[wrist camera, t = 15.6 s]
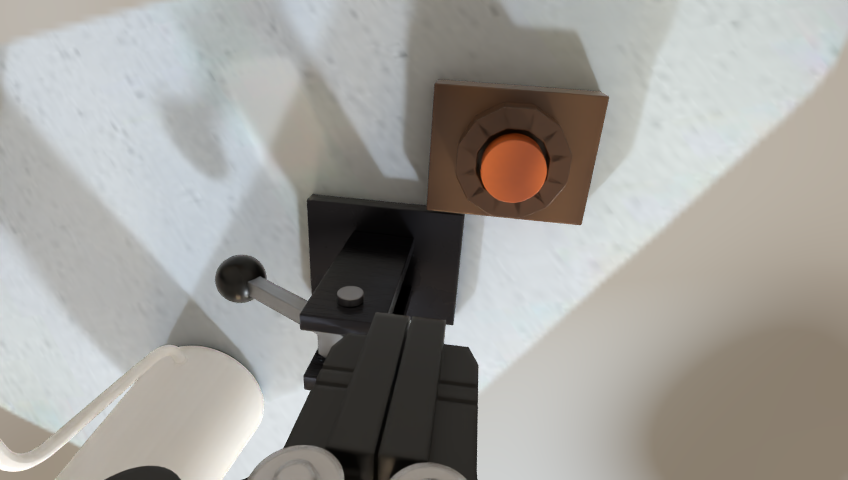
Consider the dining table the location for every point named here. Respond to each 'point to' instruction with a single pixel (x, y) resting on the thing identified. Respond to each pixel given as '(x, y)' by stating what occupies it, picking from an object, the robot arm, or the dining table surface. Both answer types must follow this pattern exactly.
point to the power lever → (263, 293)
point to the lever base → (377, 265)
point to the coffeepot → (162, 419)
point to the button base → (524, 114)
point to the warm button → (513, 168)
